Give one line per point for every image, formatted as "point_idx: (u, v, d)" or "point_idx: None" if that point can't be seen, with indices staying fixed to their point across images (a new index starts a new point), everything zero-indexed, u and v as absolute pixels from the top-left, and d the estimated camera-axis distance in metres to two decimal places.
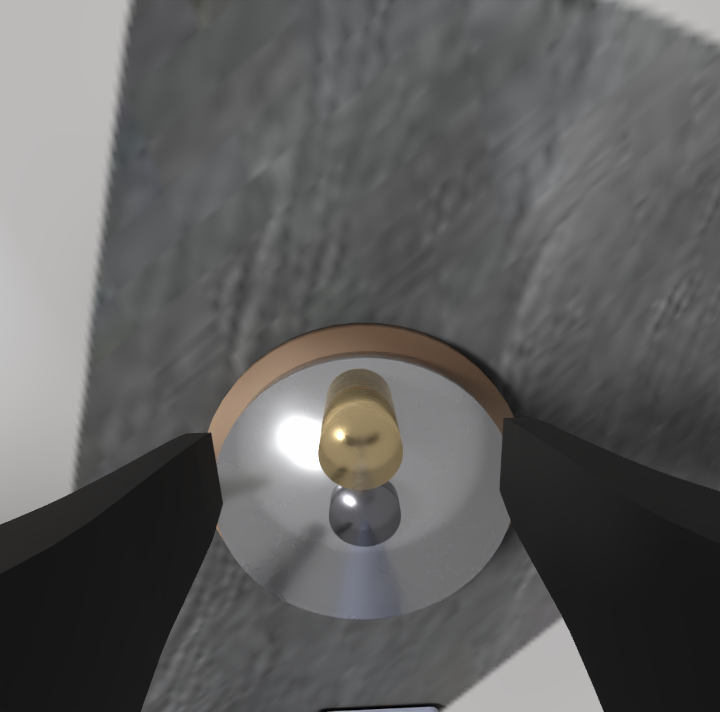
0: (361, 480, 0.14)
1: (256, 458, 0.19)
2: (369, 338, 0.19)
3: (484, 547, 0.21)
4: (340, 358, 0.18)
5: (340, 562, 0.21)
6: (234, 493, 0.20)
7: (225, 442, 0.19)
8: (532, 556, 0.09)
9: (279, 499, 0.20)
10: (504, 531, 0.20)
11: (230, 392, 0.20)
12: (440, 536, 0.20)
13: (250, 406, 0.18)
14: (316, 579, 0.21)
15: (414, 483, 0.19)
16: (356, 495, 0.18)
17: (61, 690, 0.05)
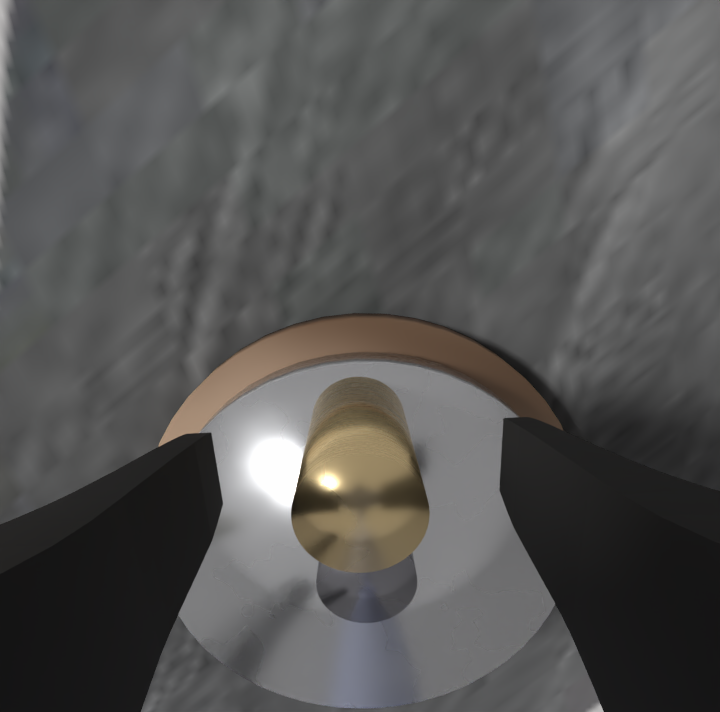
0: (361, 558, 0.09)
1: None
2: (372, 334, 0.14)
3: (528, 617, 0.15)
4: (332, 361, 0.13)
5: (332, 637, 0.15)
6: None
7: None
8: (532, 556, 0.09)
9: (249, 555, 0.14)
10: None
11: (182, 408, 0.14)
12: (469, 603, 0.15)
13: (205, 429, 0.13)
14: (301, 658, 0.16)
15: (435, 534, 0.14)
16: None
17: (61, 690, 0.05)
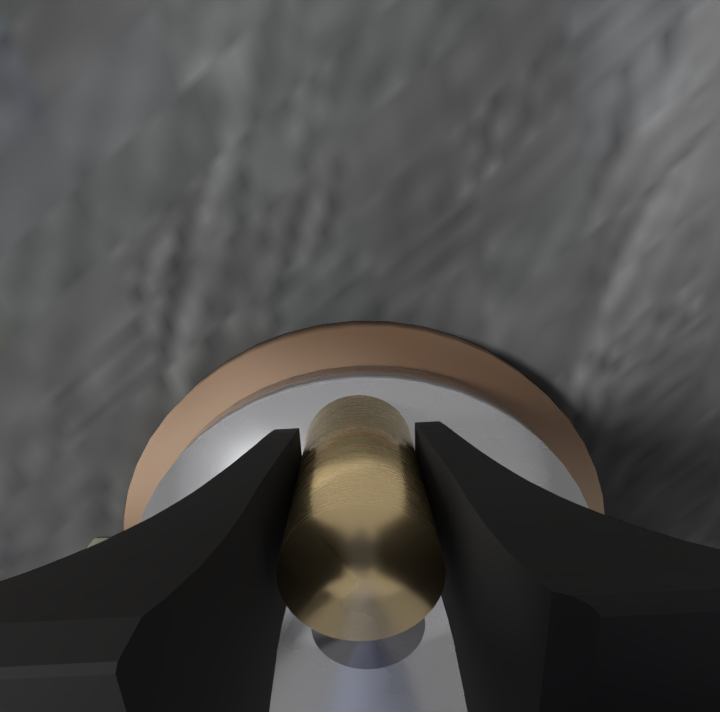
0: (363, 624, 0.07)
1: None
2: (375, 345, 0.12)
3: None
4: (329, 377, 0.11)
5: (330, 680, 0.14)
6: None
7: (147, 509, 0.12)
8: None
9: None
10: None
11: (161, 428, 0.13)
12: None
13: (184, 454, 0.11)
14: (295, 702, 0.14)
15: None
16: None
17: (233, 682, 0.05)
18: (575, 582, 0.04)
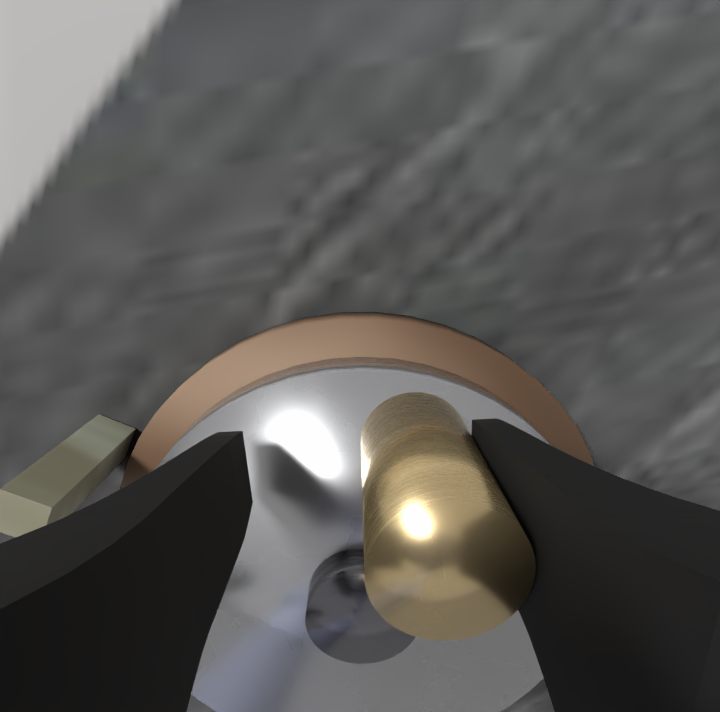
0: (429, 622, 0.07)
1: None
2: (491, 369, 0.12)
3: (505, 690, 0.14)
4: (406, 369, 0.11)
5: (294, 663, 0.14)
6: None
7: (177, 447, 0.11)
8: None
9: None
10: (541, 677, 0.14)
11: (251, 344, 0.12)
12: (452, 662, 0.14)
13: (237, 402, 0.11)
14: (250, 677, 0.14)
15: None
16: (362, 587, 0.11)
17: (122, 687, 0.05)
18: None
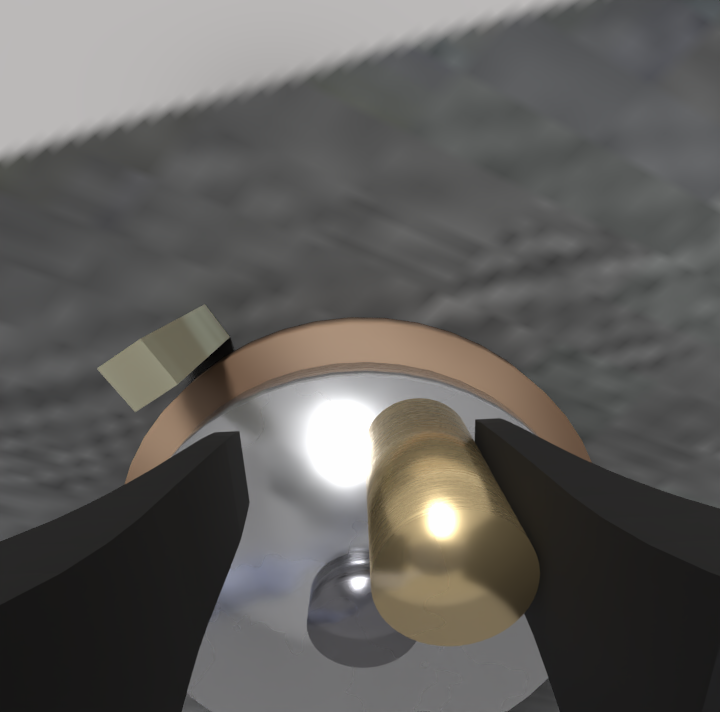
0: (434, 627, 0.07)
1: None
2: None
3: (504, 695, 0.14)
4: (410, 375, 0.11)
5: (294, 666, 0.14)
6: None
7: None
8: None
9: (237, 557, 0.12)
10: (540, 682, 0.14)
11: (405, 330, 0.12)
12: (451, 667, 0.14)
13: (243, 406, 0.11)
14: (250, 680, 0.14)
15: None
16: (364, 592, 0.11)
17: (116, 687, 0.05)
18: None
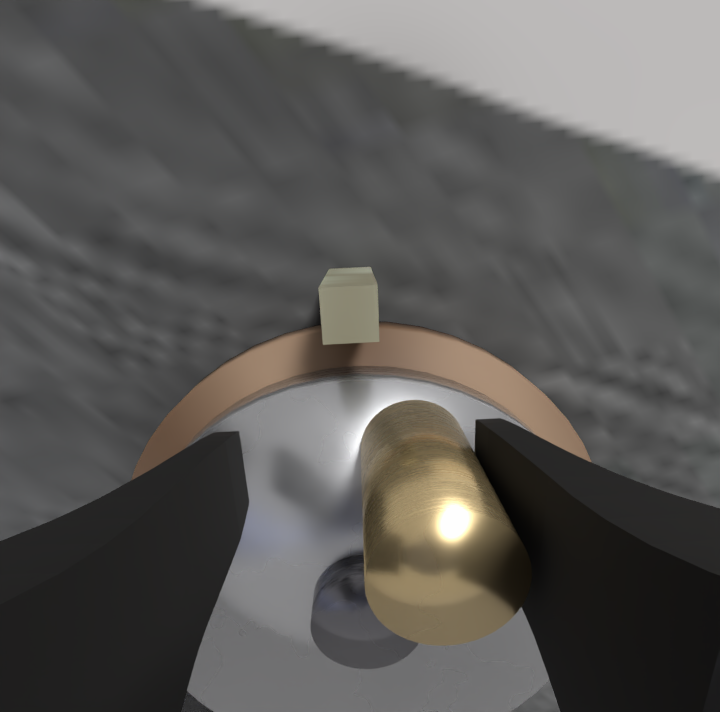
0: (429, 627, 0.07)
1: None
2: None
3: (511, 693, 0.14)
4: (403, 377, 0.11)
5: (301, 670, 0.14)
6: None
7: None
8: None
9: (240, 563, 0.12)
10: (547, 678, 0.14)
11: (533, 388, 0.13)
12: (456, 666, 0.14)
13: (239, 414, 0.11)
14: (258, 684, 0.14)
15: None
16: (365, 593, 0.12)
17: (115, 688, 0.05)
18: None
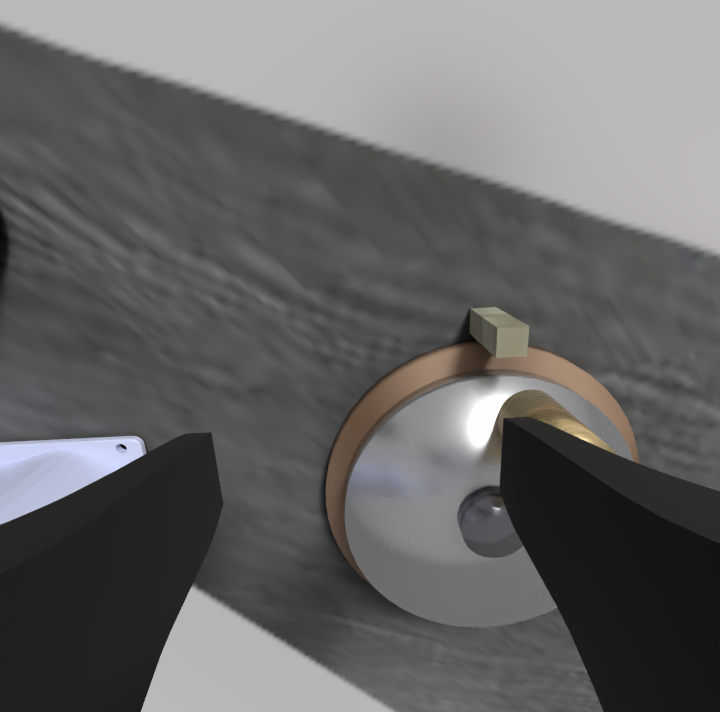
0: None
1: (410, 448, 0.19)
2: None
3: None
4: (523, 376, 0.19)
5: (443, 565, 0.21)
6: (375, 476, 0.20)
7: (388, 425, 0.19)
8: (532, 556, 0.09)
9: (414, 492, 0.20)
10: None
11: (597, 382, 0.20)
12: None
13: (426, 398, 0.19)
14: (414, 575, 0.21)
15: None
16: (498, 507, 0.19)
17: (61, 690, 0.05)
18: None
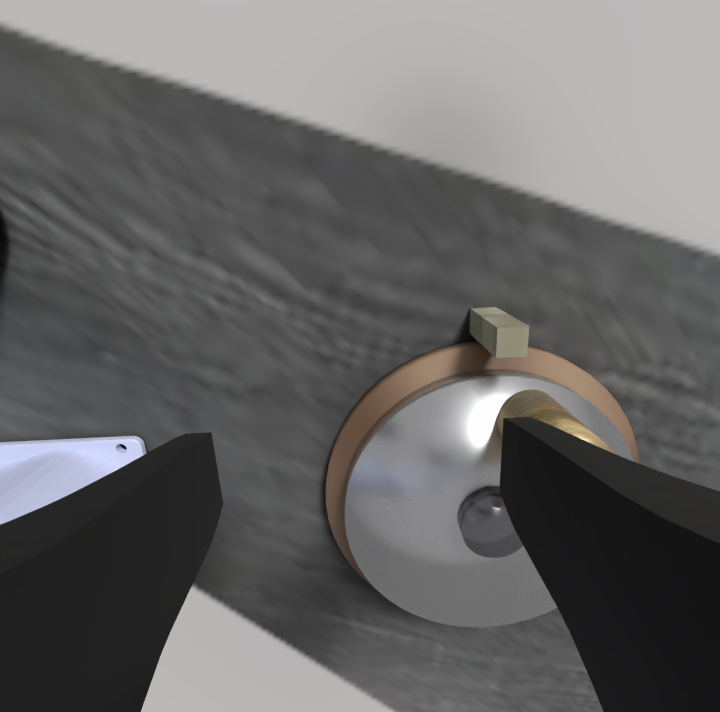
0: None
1: (410, 448, 0.19)
2: None
3: None
4: (523, 376, 0.19)
5: (443, 565, 0.21)
6: (375, 476, 0.20)
7: (388, 425, 0.19)
8: (532, 556, 0.09)
9: (414, 492, 0.20)
10: None
11: (597, 382, 0.20)
12: None
13: (426, 398, 0.19)
14: (414, 575, 0.21)
15: None
16: (498, 507, 0.19)
17: (61, 690, 0.05)
18: None
